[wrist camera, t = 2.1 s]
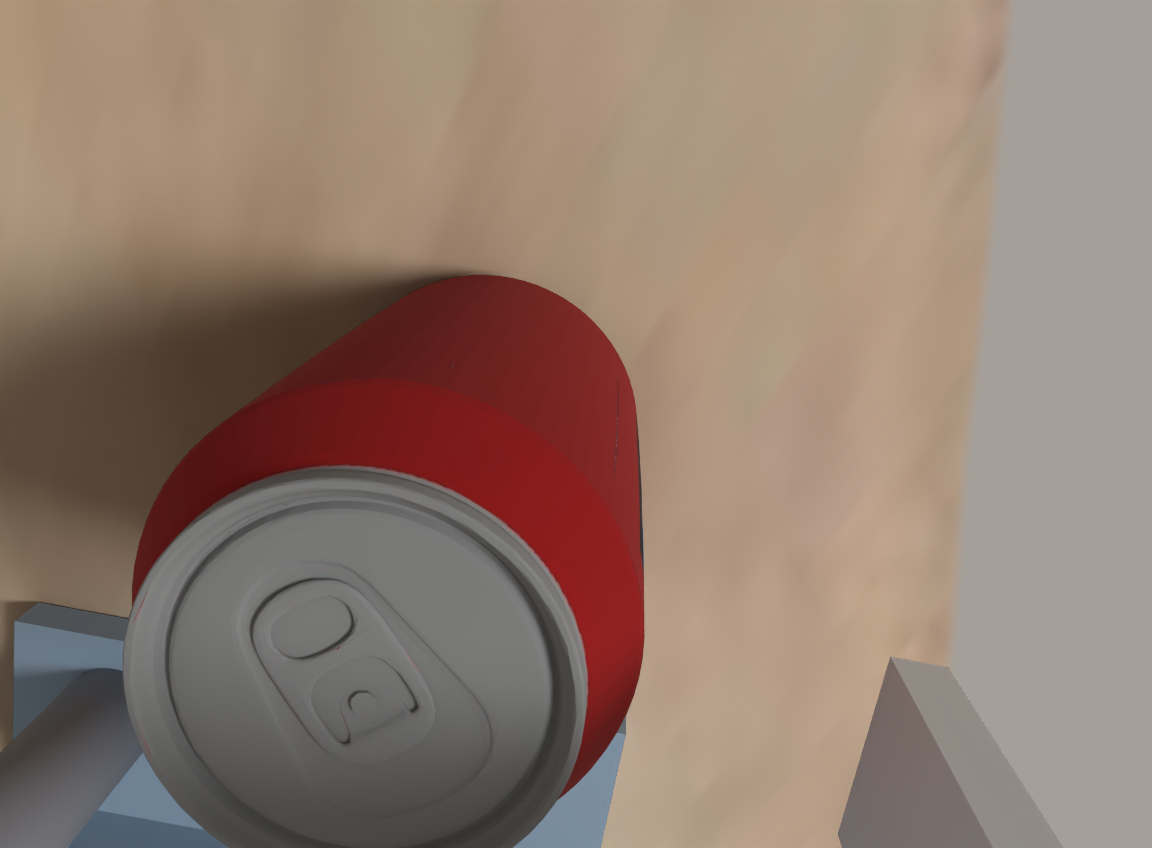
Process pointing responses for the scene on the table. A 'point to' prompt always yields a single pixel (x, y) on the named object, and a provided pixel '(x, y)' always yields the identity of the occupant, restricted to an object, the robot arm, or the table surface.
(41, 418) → the table surface
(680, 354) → the table surface
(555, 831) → the light blue hollow tray
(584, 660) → the beverage can
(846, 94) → the table surface
